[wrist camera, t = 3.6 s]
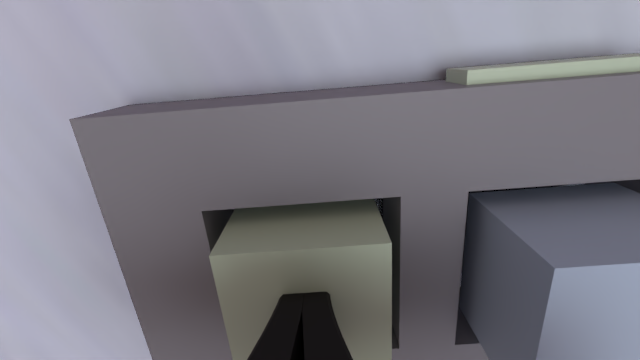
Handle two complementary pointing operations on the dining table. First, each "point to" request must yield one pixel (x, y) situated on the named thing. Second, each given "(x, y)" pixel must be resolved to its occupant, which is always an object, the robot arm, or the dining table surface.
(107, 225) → the button panel
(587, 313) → the slate button
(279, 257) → the sage button
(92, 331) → the dining table surface
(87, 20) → the dining table surface
